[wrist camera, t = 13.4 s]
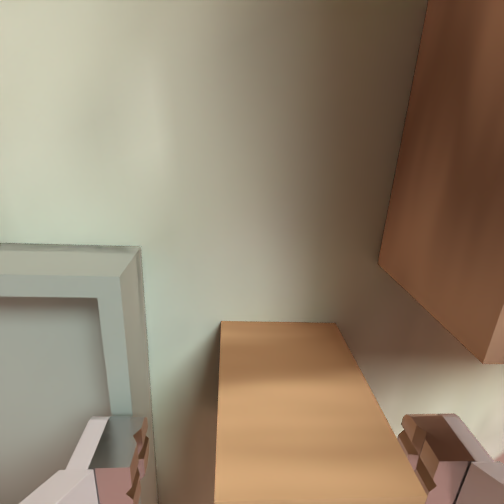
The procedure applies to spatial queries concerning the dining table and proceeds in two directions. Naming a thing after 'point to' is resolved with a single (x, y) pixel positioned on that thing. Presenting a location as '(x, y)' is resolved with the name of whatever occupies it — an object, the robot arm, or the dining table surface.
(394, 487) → the oak block
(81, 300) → the tray
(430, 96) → the brown square socket box
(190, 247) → the dining table surface
